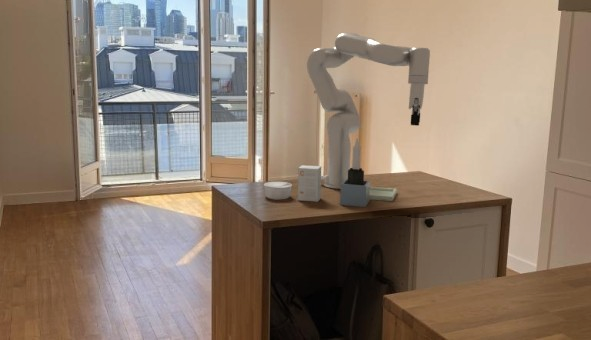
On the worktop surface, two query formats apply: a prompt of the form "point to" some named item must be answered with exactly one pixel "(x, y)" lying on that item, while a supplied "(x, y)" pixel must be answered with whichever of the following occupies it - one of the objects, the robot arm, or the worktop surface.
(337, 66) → the robot arm
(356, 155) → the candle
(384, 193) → the tray
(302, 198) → the small box
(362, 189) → the holder
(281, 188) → the ramekin
